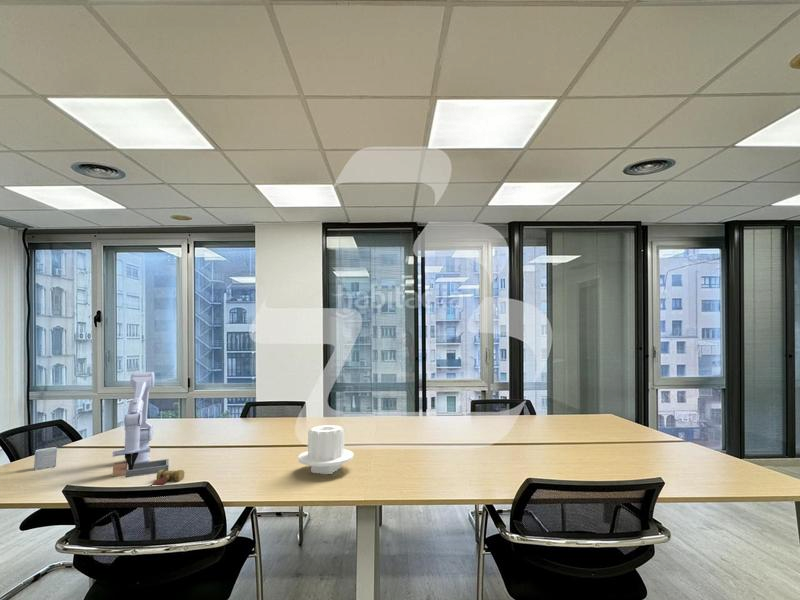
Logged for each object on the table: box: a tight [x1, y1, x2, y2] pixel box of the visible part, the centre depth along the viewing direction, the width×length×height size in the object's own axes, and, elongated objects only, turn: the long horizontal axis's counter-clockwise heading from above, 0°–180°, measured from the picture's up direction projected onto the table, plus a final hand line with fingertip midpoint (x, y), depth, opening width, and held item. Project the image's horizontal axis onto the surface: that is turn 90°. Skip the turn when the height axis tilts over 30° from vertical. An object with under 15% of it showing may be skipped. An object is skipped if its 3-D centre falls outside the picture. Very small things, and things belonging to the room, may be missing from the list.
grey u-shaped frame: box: [125, 458, 170, 478], centre depth 195 cm, size 12×16×2 cm
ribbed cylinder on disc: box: [297, 424, 354, 475], centre depth 193 cm, size 25×25×19 cm
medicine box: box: [33, 446, 58, 470], centre depth 200 cm, size 8×4×9 cm, turn 134°
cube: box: [112, 460, 128, 478], centre depth 189 cm, size 5×5×5 cm
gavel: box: [149, 469, 185, 486], centre depth 173 cm, size 21×5×10 cm
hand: (130, 470), depth 191 cm, fingers closed
